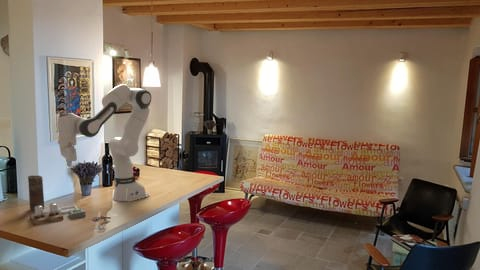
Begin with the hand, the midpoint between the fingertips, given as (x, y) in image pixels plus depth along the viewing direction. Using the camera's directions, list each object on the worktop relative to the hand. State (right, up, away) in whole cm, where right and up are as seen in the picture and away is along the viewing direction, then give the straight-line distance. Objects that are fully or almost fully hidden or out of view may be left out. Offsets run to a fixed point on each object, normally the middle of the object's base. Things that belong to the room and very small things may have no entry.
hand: (69, 166), depth 206 cm
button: (+6, -27, -3) cm, 27 cm away
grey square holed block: (+6, -27, -3) cm, 28 cm away
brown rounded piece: (-21, -26, +6) cm, 34 cm away
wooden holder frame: (-8, -28, -9) cm, 30 cm away
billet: (-5, -28, -7) cm, 29 cm away
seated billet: (-11, -28, -11) cm, 32 cm away
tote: (-2, -26, +4) cm, 27 cm away
